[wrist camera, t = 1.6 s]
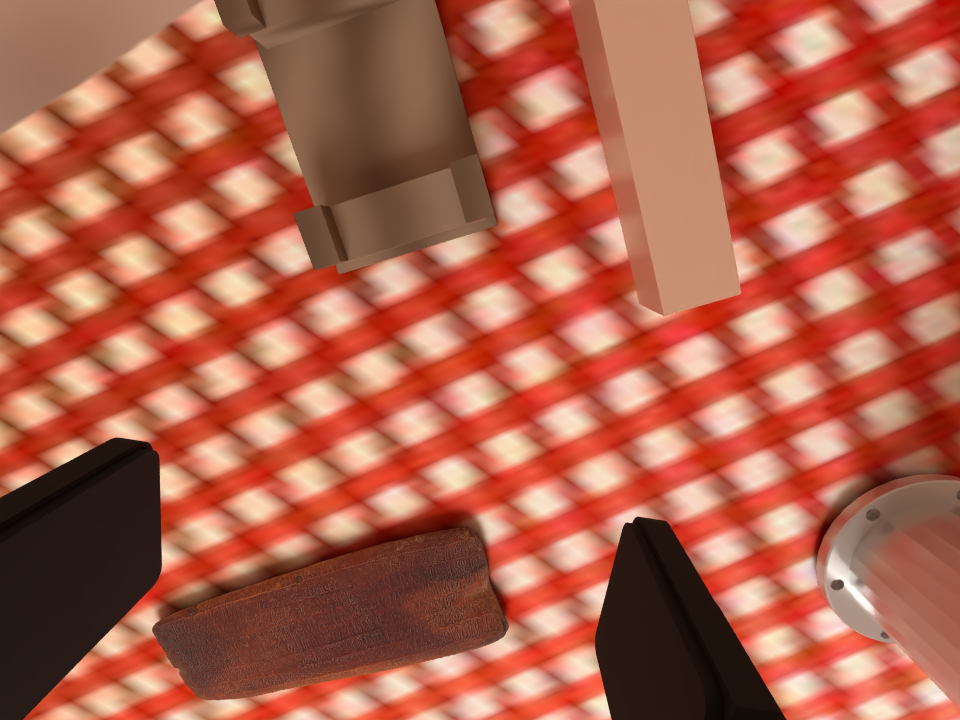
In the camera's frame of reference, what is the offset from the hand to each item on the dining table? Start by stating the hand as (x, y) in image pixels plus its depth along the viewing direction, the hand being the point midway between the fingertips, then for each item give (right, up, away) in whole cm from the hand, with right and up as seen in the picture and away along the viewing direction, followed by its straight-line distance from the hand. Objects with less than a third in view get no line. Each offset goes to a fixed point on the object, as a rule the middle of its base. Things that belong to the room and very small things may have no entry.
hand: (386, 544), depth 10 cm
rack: (-4, +18, +18) cm, 26 cm away
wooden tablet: (-8, -20, +28) cm, 36 cm away
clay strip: (+11, +16, +18) cm, 27 cm away
